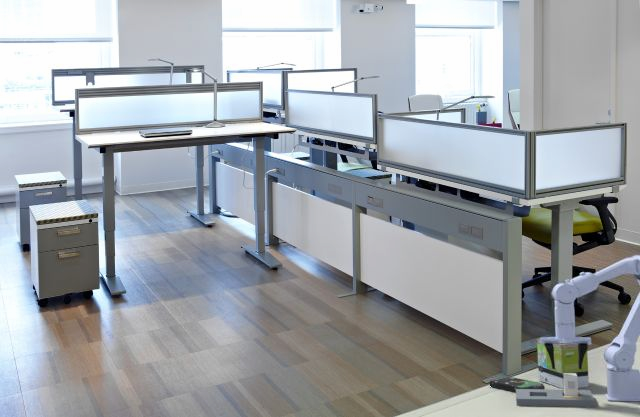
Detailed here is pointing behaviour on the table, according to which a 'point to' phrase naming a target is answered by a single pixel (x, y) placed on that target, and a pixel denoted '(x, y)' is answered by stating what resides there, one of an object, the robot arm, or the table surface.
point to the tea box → (561, 365)
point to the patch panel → (553, 398)
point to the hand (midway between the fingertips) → (566, 368)
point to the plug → (570, 385)
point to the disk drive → (515, 384)
